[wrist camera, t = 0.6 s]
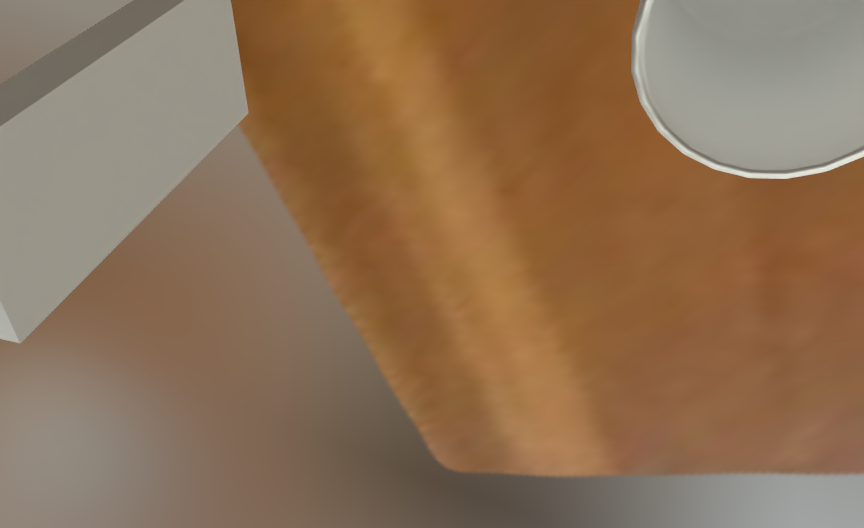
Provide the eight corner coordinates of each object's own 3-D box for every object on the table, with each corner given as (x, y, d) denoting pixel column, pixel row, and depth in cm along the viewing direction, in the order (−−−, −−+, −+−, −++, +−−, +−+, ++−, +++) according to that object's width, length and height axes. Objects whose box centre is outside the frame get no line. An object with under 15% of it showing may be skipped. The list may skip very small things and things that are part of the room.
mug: (763, -237, 30) (777, -185, 21) (1003, -56, 31) (1110, 64, 22) (611, -28, 36) (573, 79, 27) (816, 115, 37) (843, 262, 28)
